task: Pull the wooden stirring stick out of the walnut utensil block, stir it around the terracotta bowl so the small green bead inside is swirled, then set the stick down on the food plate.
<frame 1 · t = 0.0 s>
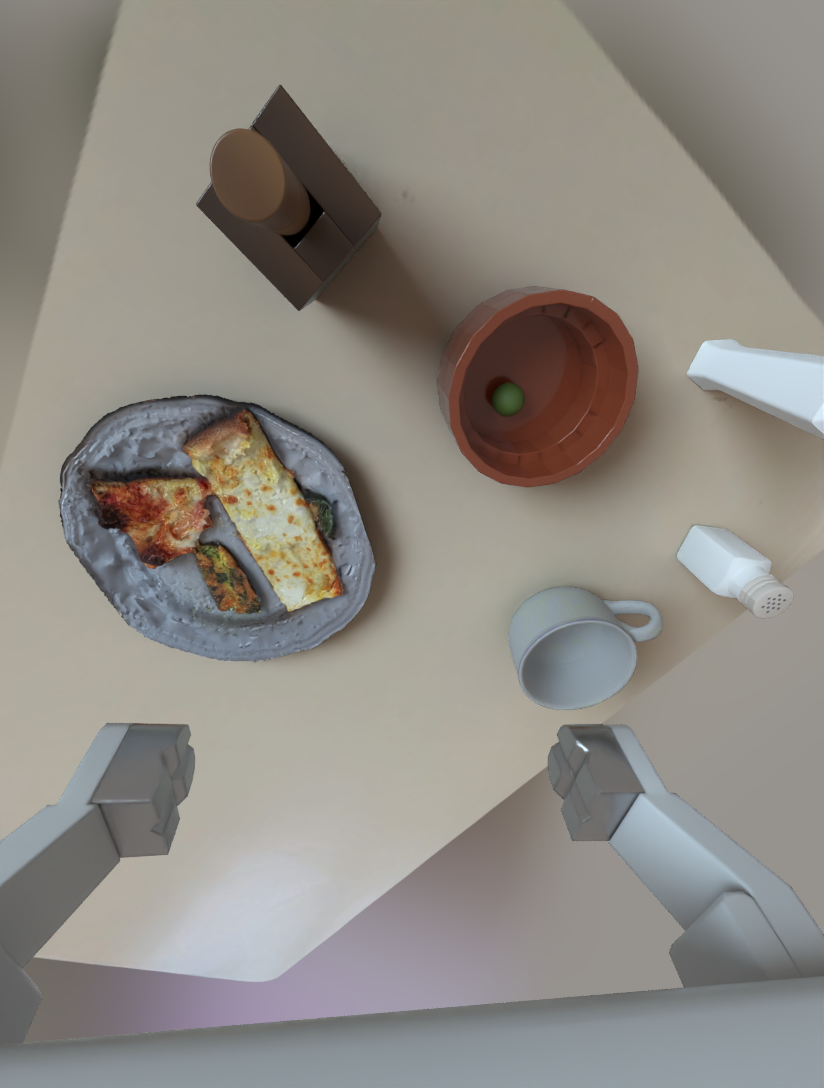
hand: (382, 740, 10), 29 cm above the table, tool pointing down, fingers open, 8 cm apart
teacup: (563, 607, 48), on the table
bead: (508, 399, 34), point 2 cm above the table, touching bowl
white faceted bottle: (713, 363, 36), on the table
bowl: (517, 379, 35), on the table
food plate: (232, 535, 40), on the table
stirring stick: (290, 209, 21), in the utensil block
utensil block: (310, 224, 29), on the table
salt shaker: (698, 541, 45), on the table
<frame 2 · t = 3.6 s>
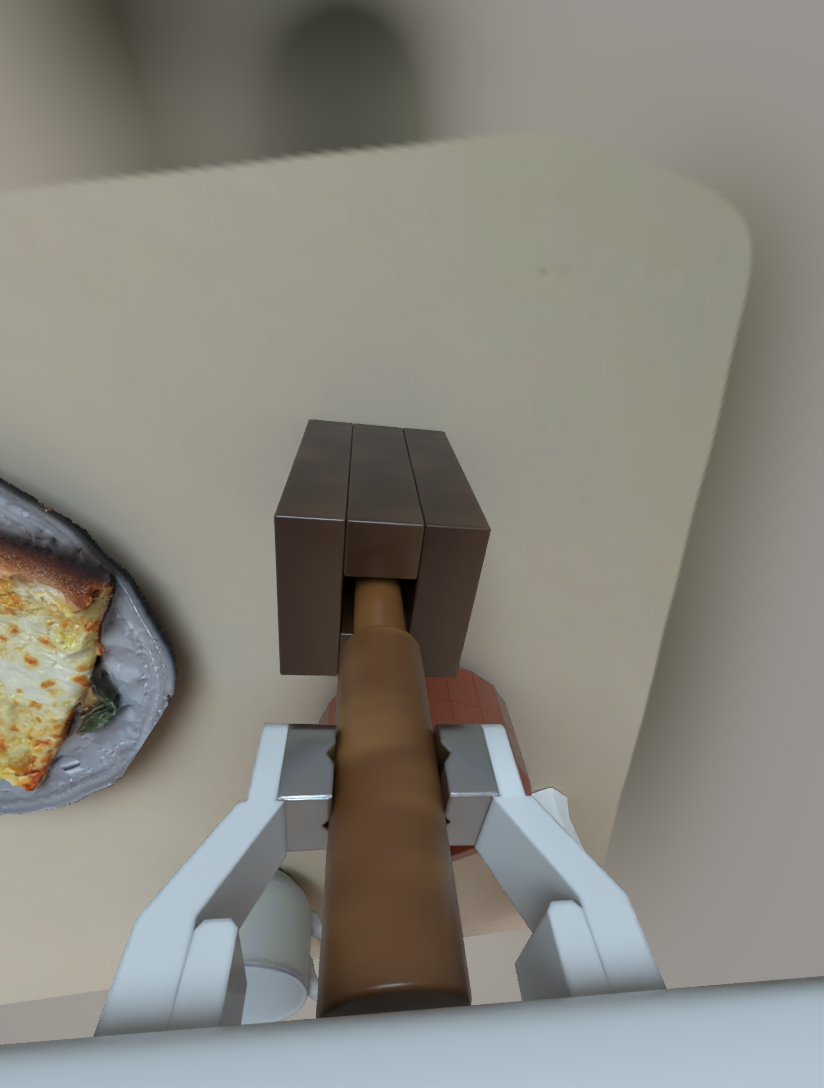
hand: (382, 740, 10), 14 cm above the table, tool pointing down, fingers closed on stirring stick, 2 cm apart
teacup: (272, 882, 41), on the table
white faceted bottle: (542, 800, 38), on the table
bowl: (413, 722, 31), on the table
stirring stick: (378, 608, 14), in the utensil block, touching gripper
utensil block: (373, 487, 22), on the table
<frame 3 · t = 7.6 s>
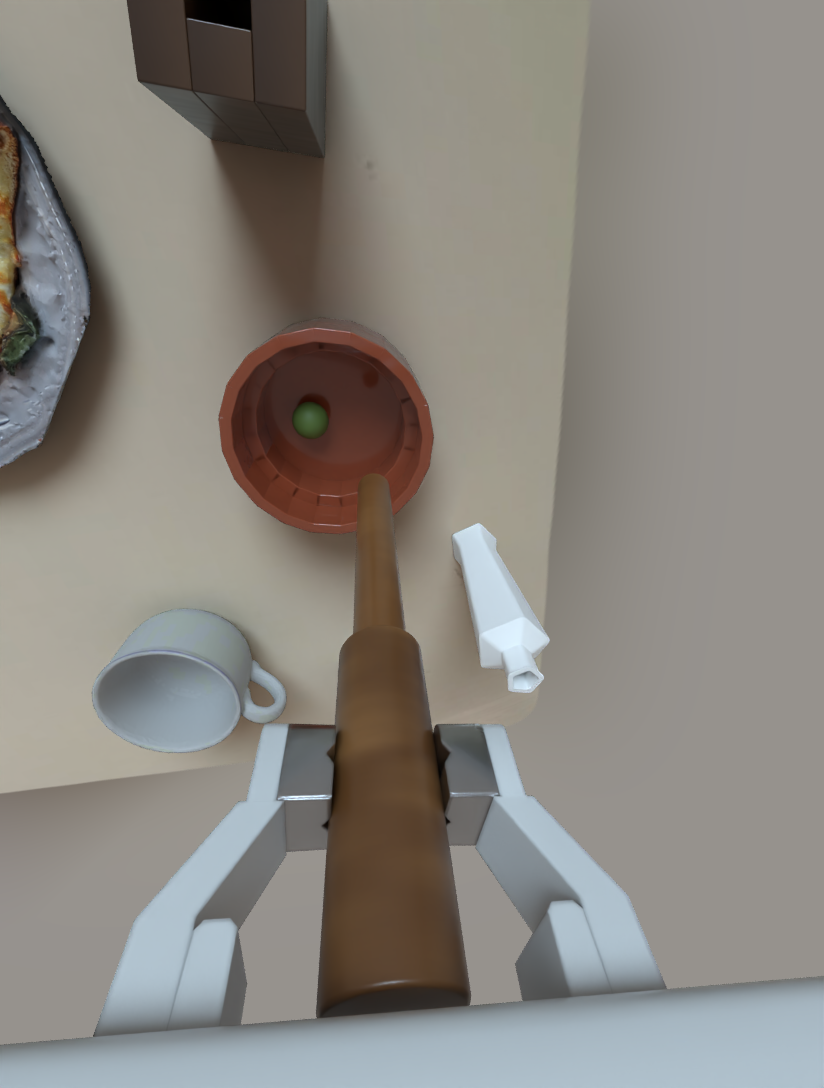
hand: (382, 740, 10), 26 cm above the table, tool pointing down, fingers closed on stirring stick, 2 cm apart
teacup: (217, 641, 42), on the table
bead: (310, 420, 31), point 2 cm above the table, touching bowl
white faceted bottle: (473, 544, 39), on the table
bowl: (334, 415, 32), on the table
stirring stick: (378, 608, 14), point 22 cm above the table, touching gripper
utensil block: (265, 71, 23), on the table
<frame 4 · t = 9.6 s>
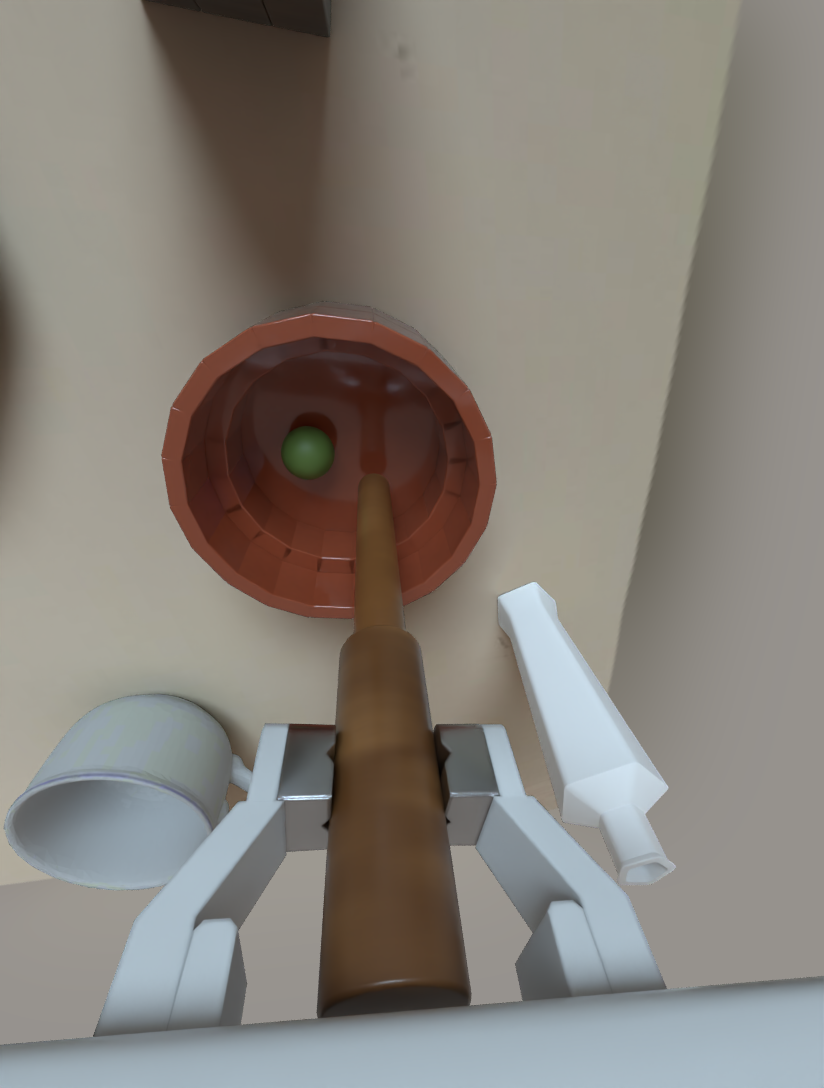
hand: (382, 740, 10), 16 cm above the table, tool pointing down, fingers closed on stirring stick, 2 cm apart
teacup: (189, 725, 33), on the table
bead: (308, 453, 21), point 2 cm above the table, touching bowl
white faceted bottle: (524, 607, 30), on the table
bowl: (343, 442, 23), on the table
stirring stick: (378, 607, 14), point 11 cm above the table, touching gripper
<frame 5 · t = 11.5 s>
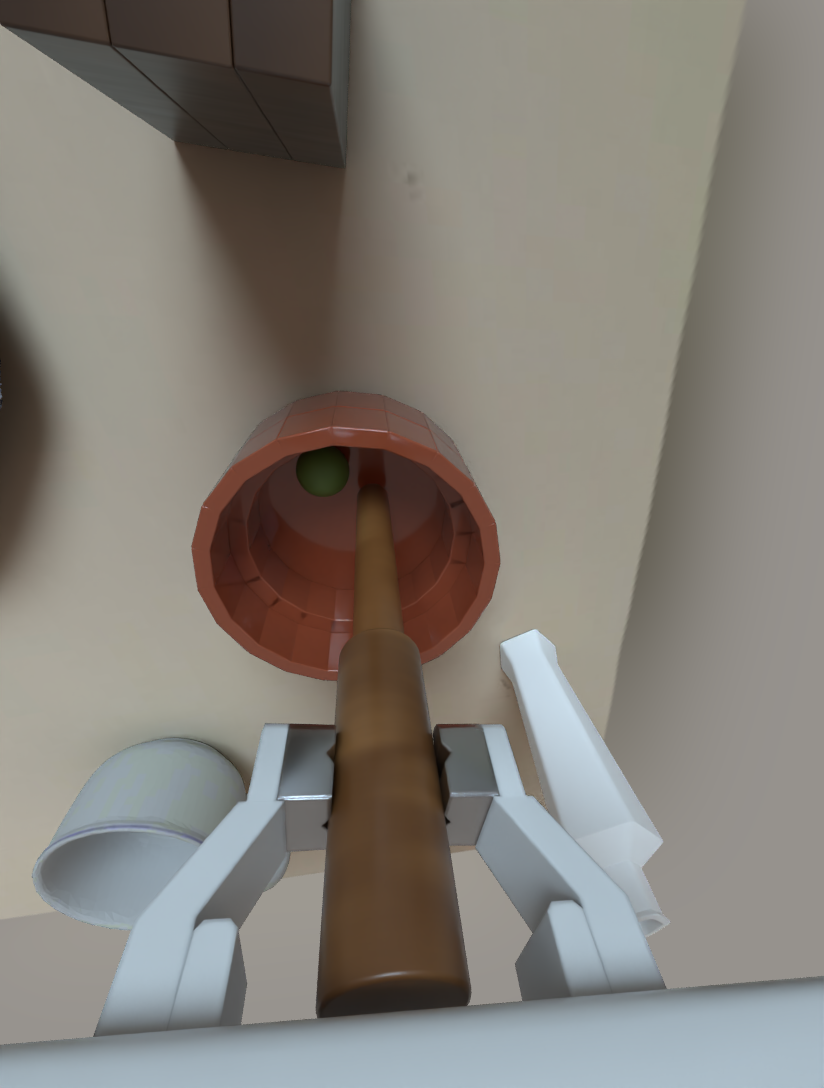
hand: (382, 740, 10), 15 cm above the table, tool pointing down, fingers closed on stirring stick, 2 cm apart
teacup: (203, 765, 34), on the table
bead: (322, 470, 21), point 2 cm above the table, tilted 113°, touching bowl
white faceted bottle: (525, 652, 31), on the table
bowl: (354, 510, 24), on the table
stirring stick: (377, 613, 14), point 11 cm above the table, touching gripper
utensil block: (256, 36, 15), on the table
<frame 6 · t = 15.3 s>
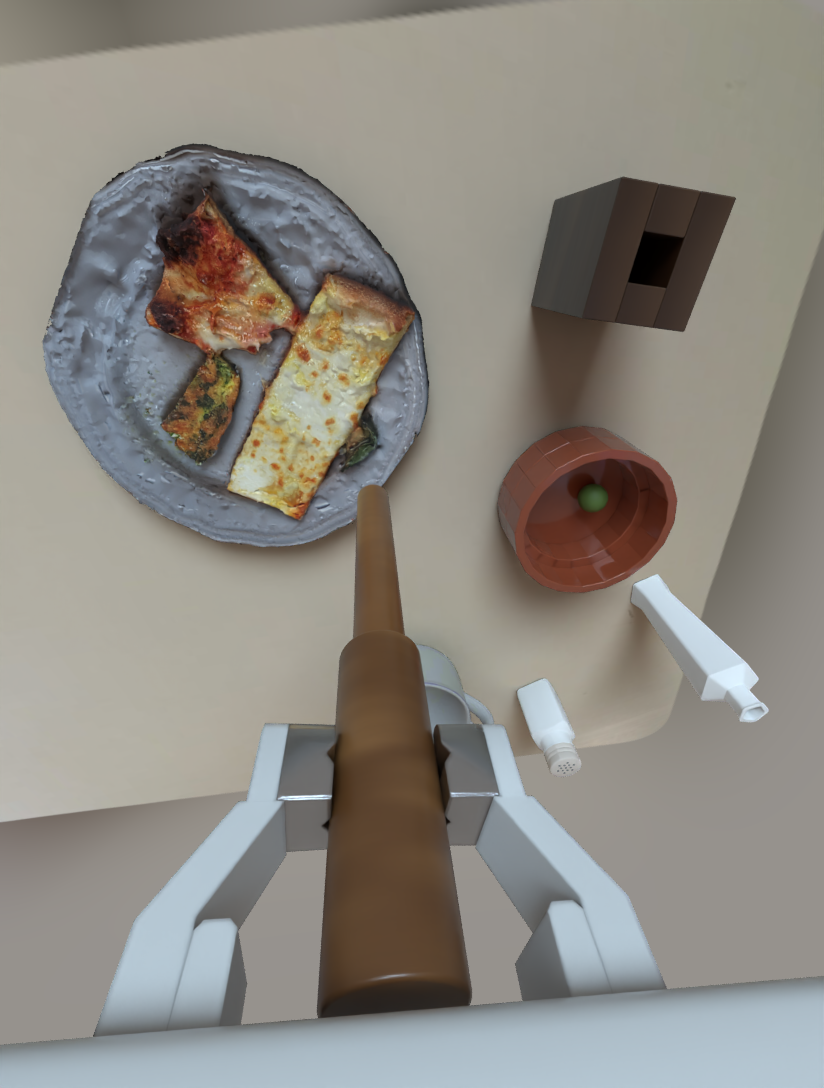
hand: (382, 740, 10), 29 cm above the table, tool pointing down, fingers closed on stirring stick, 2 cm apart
teacup: (420, 668, 50), on the table
bead: (592, 498, 38), point 2 cm above the table, tilted 63°, touching bowl
white faceted bottle: (647, 590, 47), on the table
bowl: (566, 494, 40), on the table
food plate: (255, 378, 33), on the table
stirring stick: (378, 614, 14), point 24 cm above the table, touching gripper
utensil block: (584, 261, 31), on the table
salt shaker: (535, 690, 54), on the table
when the fingers open (17 cm above the table, at t = 18.1 s): stirring stick stays where it is, resting on food plate.
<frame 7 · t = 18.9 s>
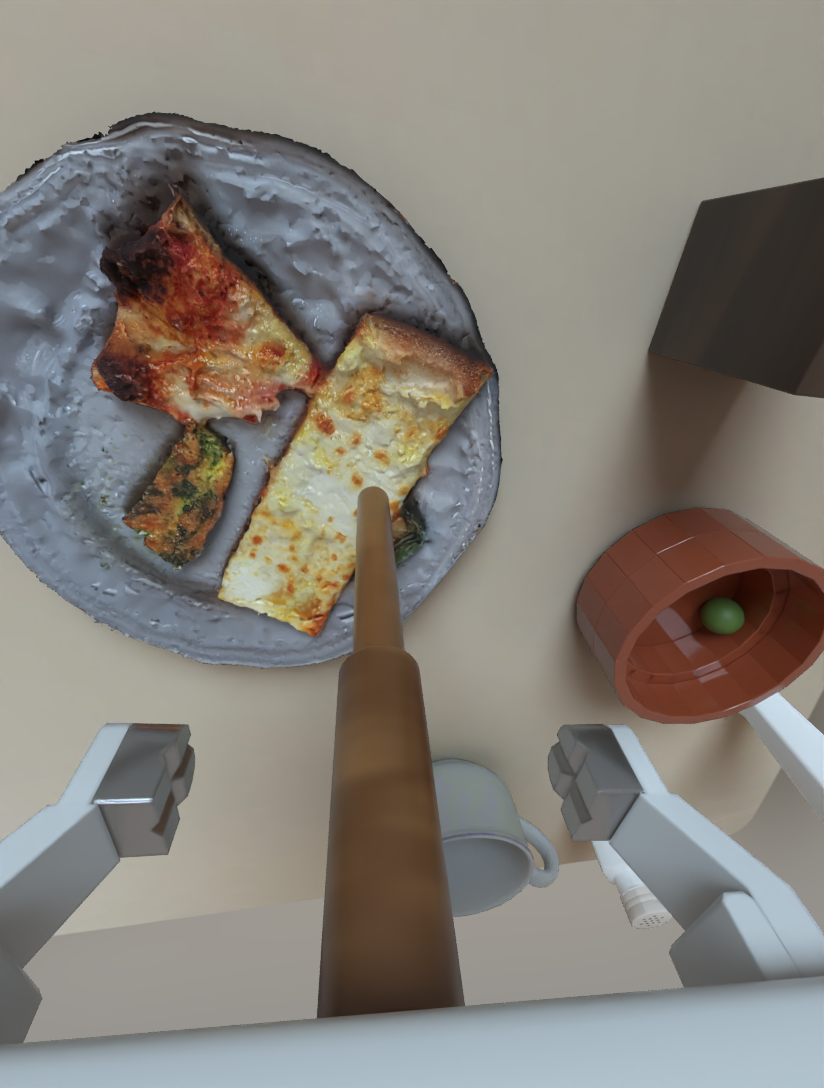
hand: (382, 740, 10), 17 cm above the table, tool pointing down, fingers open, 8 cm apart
teacup: (461, 781, 41), on the table
bead: (721, 615, 30), point 2 cm above the table, tilted 178°, touching bowl
white faceted bottle: (748, 690, 37), on the table
bowl: (664, 586, 31), on the table
food plate: (256, 453, 24), on the table, touching stirring stick
stirring stick: (377, 625, 14), point 12 cm above the table, touching food plate
utensil block: (730, 289, 21), on the table
salt shaker: (597, 797, 44), on the table
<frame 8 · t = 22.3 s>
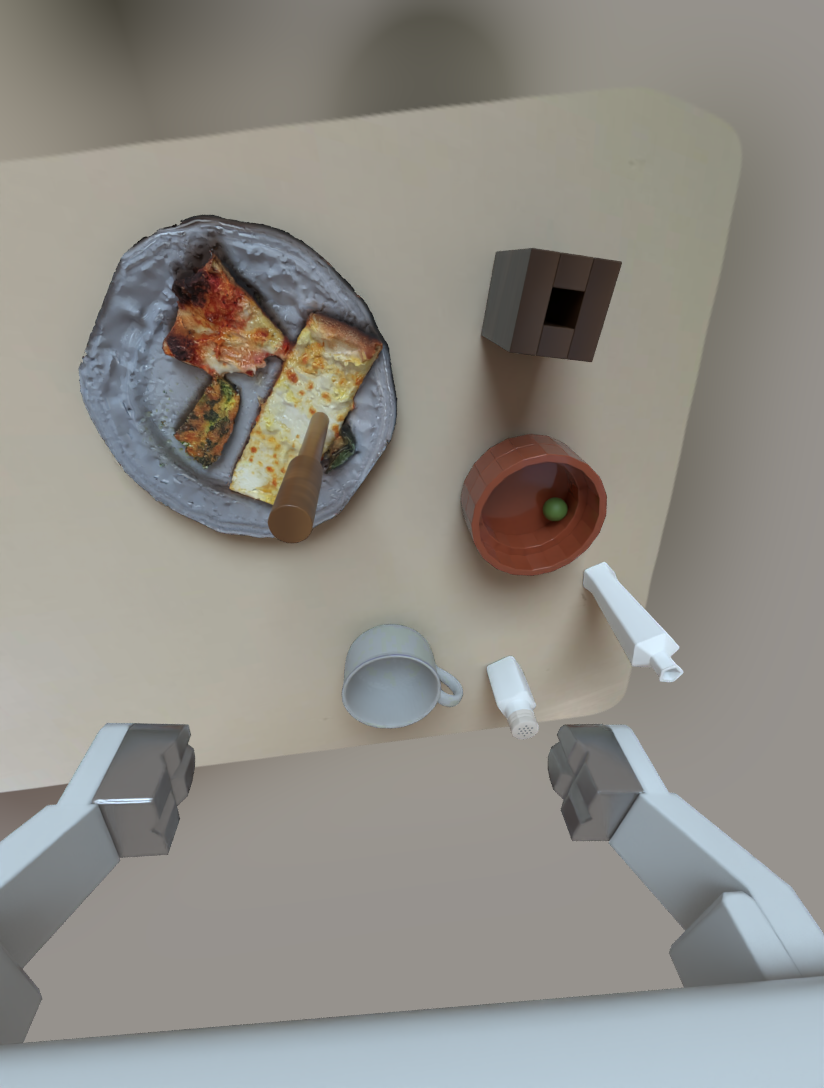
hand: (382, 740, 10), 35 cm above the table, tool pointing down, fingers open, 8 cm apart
teacup: (400, 647, 57), on the table
bead: (555, 509, 46), point 2 cm above the table, tilted 176°, touching bowl
white faceted bottle: (597, 576, 54), on the table
bowl: (520, 492, 47), on the table
food plate: (253, 396, 40), on the table, touching stirring stick
stirring stick: (308, 459, 30), point 12 cm above the table, touching food plate
utensil block: (523, 299, 38), on the table
salt shaker: (503, 666, 60), on the table
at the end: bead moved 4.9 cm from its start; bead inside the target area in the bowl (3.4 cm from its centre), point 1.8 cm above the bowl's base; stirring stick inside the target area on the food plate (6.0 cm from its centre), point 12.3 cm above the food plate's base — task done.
